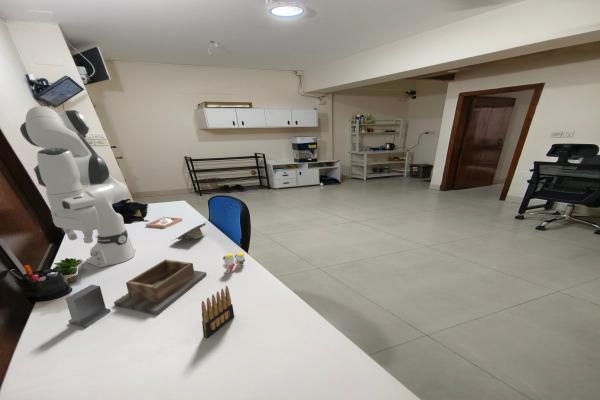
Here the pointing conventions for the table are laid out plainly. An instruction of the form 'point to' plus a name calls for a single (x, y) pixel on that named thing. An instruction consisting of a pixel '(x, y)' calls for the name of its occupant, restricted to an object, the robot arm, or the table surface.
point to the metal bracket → (86, 306)
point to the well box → (159, 286)
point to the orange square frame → (153, 224)
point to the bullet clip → (216, 313)
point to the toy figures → (230, 259)
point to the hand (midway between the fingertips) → (81, 241)
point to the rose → (164, 221)
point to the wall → (193, 233)
